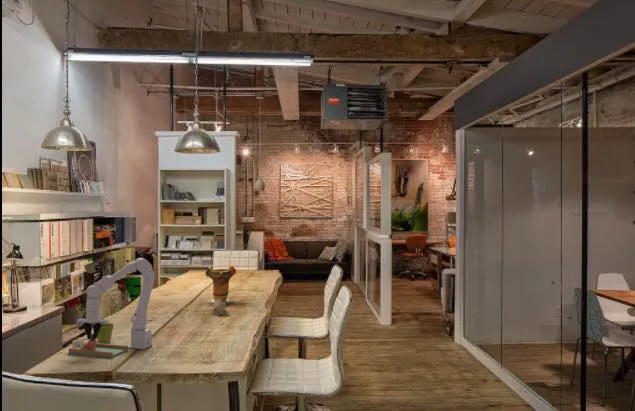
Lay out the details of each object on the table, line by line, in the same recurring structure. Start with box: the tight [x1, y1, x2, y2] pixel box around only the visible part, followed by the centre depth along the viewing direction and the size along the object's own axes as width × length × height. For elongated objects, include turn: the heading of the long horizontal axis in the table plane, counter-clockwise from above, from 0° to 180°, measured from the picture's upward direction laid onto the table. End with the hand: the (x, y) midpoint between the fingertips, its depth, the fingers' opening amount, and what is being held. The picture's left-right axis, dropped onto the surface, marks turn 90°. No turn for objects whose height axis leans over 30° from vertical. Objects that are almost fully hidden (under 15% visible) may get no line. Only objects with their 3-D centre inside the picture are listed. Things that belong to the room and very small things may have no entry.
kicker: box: [84, 332, 98, 350], centre depth 237 cm, size 4×6×7 cm, turn 166°
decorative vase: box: [205, 264, 237, 304], centre depth 370 cm, size 21×23×28 cm
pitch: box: [68, 342, 129, 359], centre depth 236 cm, size 24×12×2 cm, turn 76°
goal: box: [72, 336, 90, 349], centre depth 238 cm, size 5×8×5 cm, turn 166°
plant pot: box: [96, 322, 115, 344], centre depth 254 cm, size 9×9×9 cm
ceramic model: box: [210, 298, 229, 316], centre depth 329 cm, size 14×11×10 cm
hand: (92, 338), depth 237 cm, fingers closed on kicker, 2 cm apart
